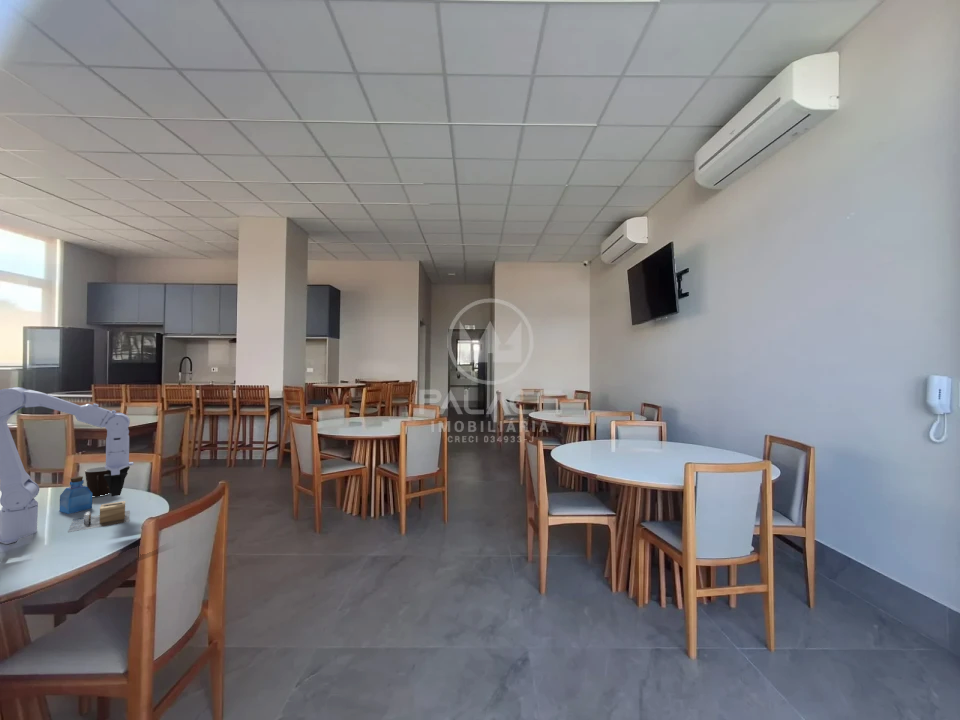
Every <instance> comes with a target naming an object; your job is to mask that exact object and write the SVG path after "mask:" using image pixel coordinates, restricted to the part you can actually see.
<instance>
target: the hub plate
mask: <svg viewBox="0 0 960 720" xmlns="http://www.w3.org/2000/svg"><path fill="white" fill-rule="evenodd" d="M130 512H131V510H129V509H128V510H125V519H121V520H115V521H109V522H103V523H100V514H99V515H92V513H91V511H85V513H83V517H80V518H73V519H72V521H71V524H70V525H69V528H68V530H67V533H71V532H72V533H73V532H77V531H83V530H89V529H96V528H101V527H106V526H107V527H108V526H113V525H118V524H119V525H120V524H126V523H130V514H131V513H130Z"/></svg>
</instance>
